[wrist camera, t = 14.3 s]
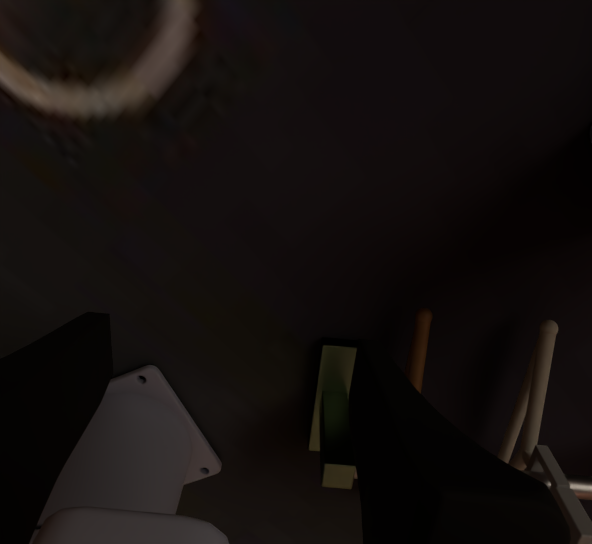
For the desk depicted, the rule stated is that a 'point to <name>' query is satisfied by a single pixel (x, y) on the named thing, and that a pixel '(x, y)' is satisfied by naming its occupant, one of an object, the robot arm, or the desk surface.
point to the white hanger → (584, 534)
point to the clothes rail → (335, 421)
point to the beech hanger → (418, 348)
